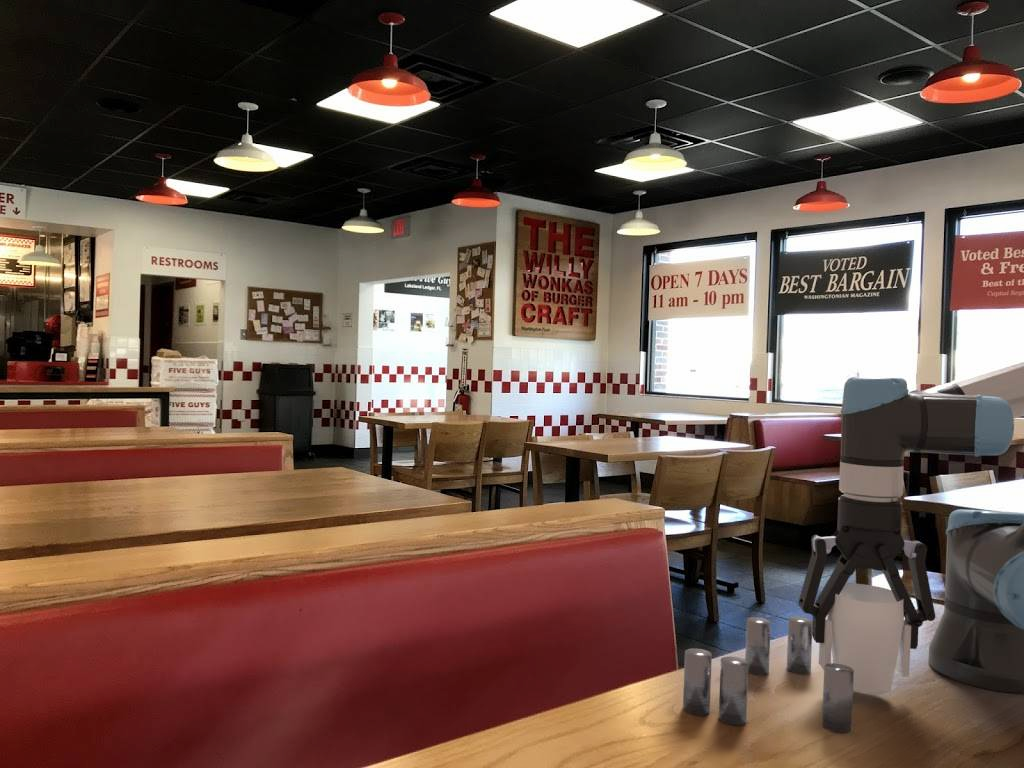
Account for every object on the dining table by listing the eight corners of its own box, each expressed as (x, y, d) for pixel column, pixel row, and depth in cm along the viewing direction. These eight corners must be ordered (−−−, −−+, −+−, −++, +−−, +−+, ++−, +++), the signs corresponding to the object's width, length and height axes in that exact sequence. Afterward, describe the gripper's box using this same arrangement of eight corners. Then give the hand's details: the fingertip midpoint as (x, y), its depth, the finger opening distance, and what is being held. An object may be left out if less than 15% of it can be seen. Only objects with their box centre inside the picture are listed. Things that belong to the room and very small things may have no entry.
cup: (910, 702, 98) (914, 606, 98) (832, 694, 100) (836, 599, 99) (890, 675, 107) (894, 586, 107) (819, 668, 109) (822, 580, 108)
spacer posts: (807, 666, 113) (809, 617, 113) (855, 734, 92) (857, 674, 92) (670, 657, 115) (672, 609, 115) (686, 721, 94) (688, 663, 94)
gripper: (945, 495, 105) (938, 664, 106) (776, 488, 108) (770, 653, 108) (972, 505, 98) (964, 687, 98) (790, 497, 100) (783, 675, 101)
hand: (863, 669), depth 103 cm, fingers closed on cup, 9 cm apart
